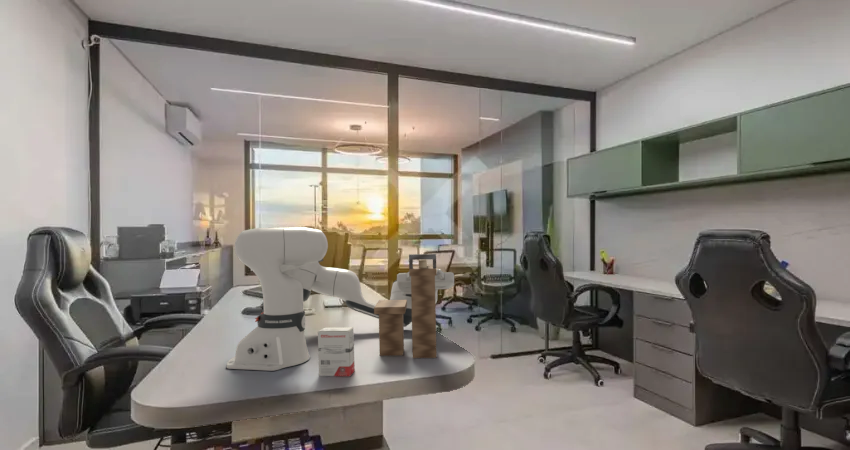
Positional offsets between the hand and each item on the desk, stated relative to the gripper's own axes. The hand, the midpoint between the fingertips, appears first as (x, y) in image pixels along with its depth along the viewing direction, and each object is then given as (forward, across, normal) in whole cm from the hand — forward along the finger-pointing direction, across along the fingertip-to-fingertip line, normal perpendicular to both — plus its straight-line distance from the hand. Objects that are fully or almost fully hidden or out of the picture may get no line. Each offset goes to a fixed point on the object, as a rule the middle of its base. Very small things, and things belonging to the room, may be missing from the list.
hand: (425, 271), depth 140 cm
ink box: (+15, +24, -36) cm, 46 cm away
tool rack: (-1, +6, -27) cm, 27 cm away
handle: (+10, +1, -3) cm, 10 cm away
